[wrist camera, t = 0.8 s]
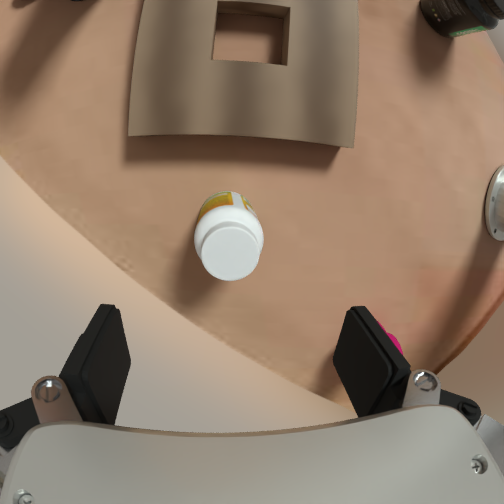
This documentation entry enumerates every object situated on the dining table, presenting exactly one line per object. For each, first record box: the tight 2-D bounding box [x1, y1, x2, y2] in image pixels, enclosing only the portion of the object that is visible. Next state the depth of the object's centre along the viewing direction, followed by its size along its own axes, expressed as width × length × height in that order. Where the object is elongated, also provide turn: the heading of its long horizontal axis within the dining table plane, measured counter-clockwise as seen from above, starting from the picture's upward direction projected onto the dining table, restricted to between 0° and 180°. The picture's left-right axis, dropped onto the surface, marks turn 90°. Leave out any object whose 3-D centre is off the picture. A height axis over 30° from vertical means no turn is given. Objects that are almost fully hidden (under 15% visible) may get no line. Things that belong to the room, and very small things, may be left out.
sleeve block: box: [128, 0, 359, 148], centre depth 20 cm, size 20×20×3 cm
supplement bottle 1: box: [194, 191, 264, 281], centre depth 24 cm, size 5×5×10 cm
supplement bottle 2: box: [421, 0, 504, 38], centre depth 14 cm, size 7×7×12 cm
